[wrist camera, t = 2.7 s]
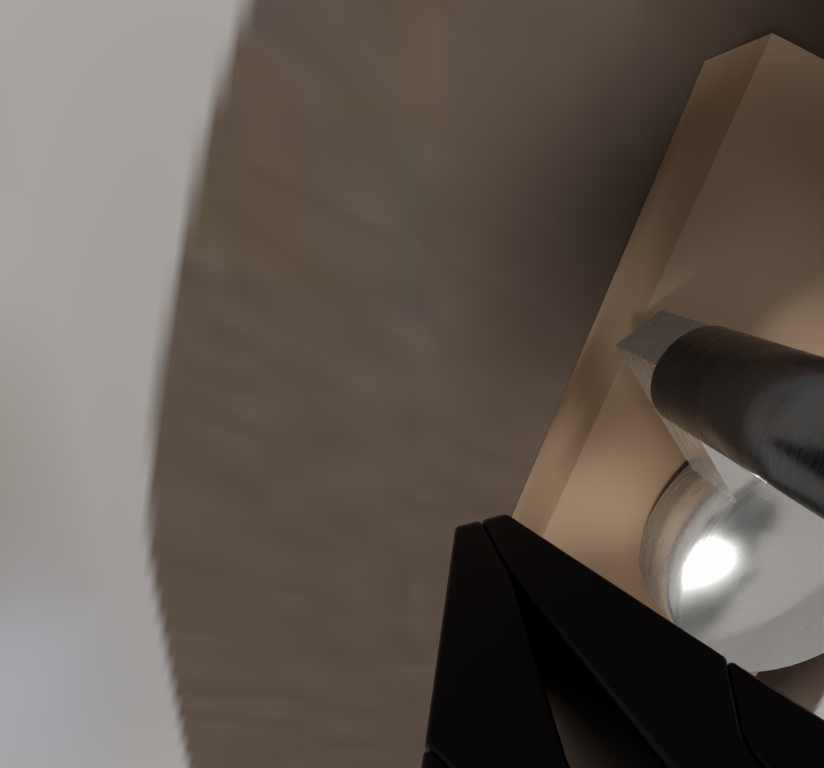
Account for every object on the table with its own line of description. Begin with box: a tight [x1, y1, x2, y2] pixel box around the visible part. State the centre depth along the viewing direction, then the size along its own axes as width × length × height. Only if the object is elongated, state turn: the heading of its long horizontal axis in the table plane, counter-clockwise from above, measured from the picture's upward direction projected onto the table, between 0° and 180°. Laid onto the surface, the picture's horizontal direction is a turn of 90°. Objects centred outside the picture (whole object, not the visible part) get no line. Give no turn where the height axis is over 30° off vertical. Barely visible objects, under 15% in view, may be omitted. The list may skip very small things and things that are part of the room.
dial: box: [616, 310, 824, 672], centre depth 11 cm, size 13×8×6 cm, turn 38°
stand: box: [512, 33, 824, 676], centre depth 15 cm, size 20×12×2 cm, turn 163°
